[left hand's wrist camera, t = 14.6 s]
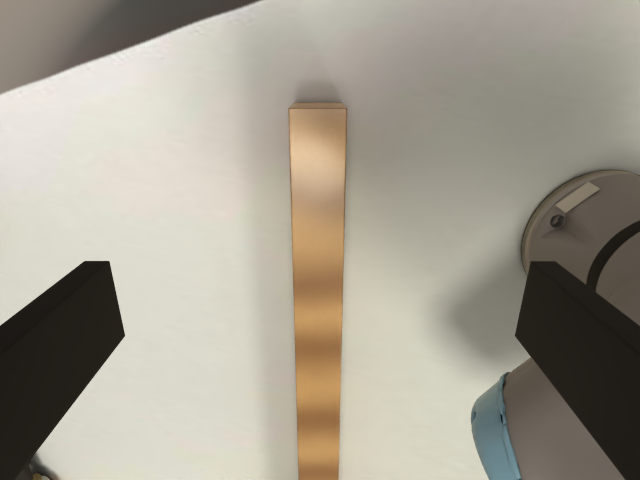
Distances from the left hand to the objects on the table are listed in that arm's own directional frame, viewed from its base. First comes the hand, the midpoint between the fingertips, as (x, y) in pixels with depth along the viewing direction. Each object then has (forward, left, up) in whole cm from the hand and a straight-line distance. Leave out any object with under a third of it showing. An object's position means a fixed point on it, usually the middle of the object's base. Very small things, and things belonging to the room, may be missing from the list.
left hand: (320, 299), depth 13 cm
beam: (+9, +26, -30) cm, 40 cm away
